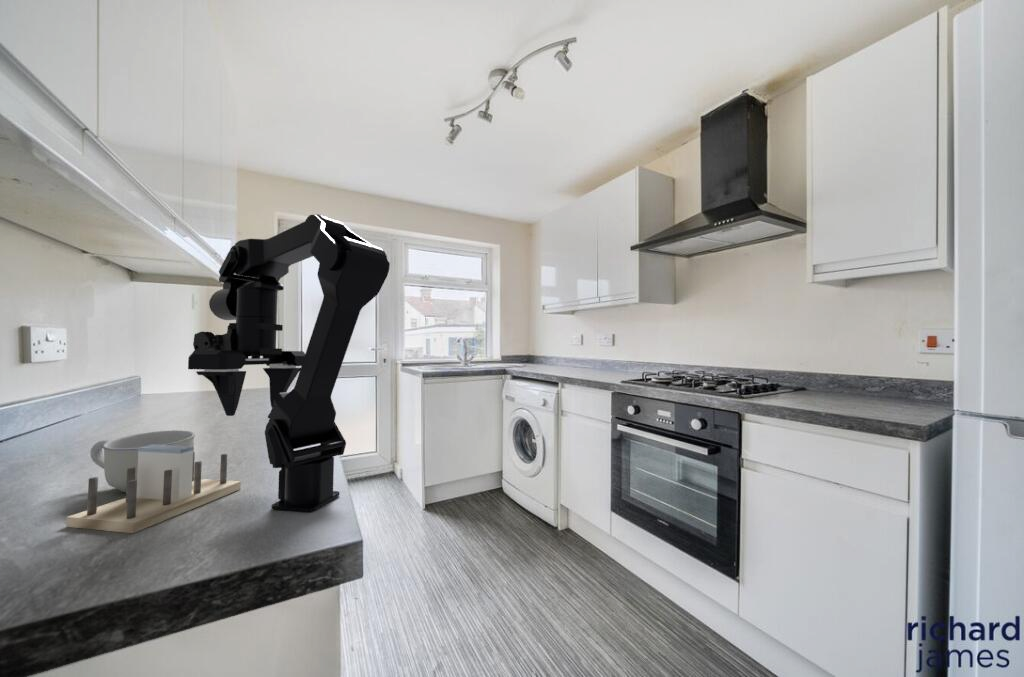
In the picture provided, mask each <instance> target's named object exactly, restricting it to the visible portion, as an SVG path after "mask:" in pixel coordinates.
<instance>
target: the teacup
mask: <svg viewBox="0 0 1024 677" xmlns="http://www.w3.org/2000/svg"><path fill="white" fill-rule="evenodd" d="M195 437H196V433H195V432H193V431H189V430H181V429H178V430H175V429H174V430H173V429H171V430H158V431H149V432H142V433H137V434H129V435H127V436H121V437H118V438H115V439H112V438H106V439H105V438H104V439H101V440H99V441H97V442H95V443H94V444H93V445H92V446H91V449H90V458H91V461H92V462H94V464H96V465H97V466H98V467H99V468H101V469H103V470H104V477H105V480H106V483H107V484H108V485H109V486H110V487H112V488H113V489H116V490H119V491H120V492H122V493H126V485H127V469H128V468H132V467H135V480H137V471H138V448H139V447H144V446H148V445H171V446H190V447H194V448H195ZM193 452H195V450H193Z"/></svg>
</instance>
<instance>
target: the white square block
mask: <svg viewBox="0 0 1024 677" xmlns="http://www.w3.org/2000/svg"><path fill="white" fill-rule="evenodd" d="M194 449H195V446H194V447H190V446H171V445H148V446H144V447H139V448H138V471H137V496H136V498H146V499H159V500H163V486H164V471H165V470H172V484H171V501H180V500H183V499H185V498H188V497H191V493H192V468H193V450H194ZM194 451H195V450H194Z"/></svg>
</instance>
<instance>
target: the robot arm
mask: <svg viewBox="0 0 1024 677" xmlns="http://www.w3.org/2000/svg"><path fill="white" fill-rule="evenodd" d="M312 257H314V258H315V259H316V261H317V262H318V263H319V265H318V270H317V279H318V282H319V285H320V288H321V290H322V294H323V298H322V302H321V304H320V307H319V311H318V314H317V317H316V320H315V323H314V327H313V330H312V331H311V332H312V333H311V336H310V338H309V342H308V345H307V348H306V351H305V352H304V351H303V350H302V351H301V350H299V351H298V350H290V351H289V350H286V351H285V350H283V348H277V332H279V331H281V332H282V331H283V326H284V325H283V324H278V323H277V322H278V319H277V318H278V293H279V291H283V290H285V288H284V285H283V284H282V283H281V282H279V281H280V280H281V278H283V277H285V276H286V275H287V274H289V272H290V269H289V267H290V266H292V265H295V264H297V263H299V262H301V261H304V260H306V259H309V258H312ZM390 264H391V263H390V262H389V261H388V256H387V253H386V252H385V250H384V249H382V248H381V247H379V246H376V245H373V243H372V244H371V243H370V242H369V241H367V240H366V239H364V238H362V237H361V236H360V235H358V234H356V233H355V232H354V231H352V230H351V229H350V228H349V227H348V226H347V225H345V224H344V223H343V222H341V221H339V220H336V219H332V218H330V217H327V216H324V215H321V214H310V215H308V216H307V218H305V221H303V222H301V223H298V224H296V225H294V226H292V227H290V228H287V229H286V230H284V231H282V232H280V233H277V234H275V235H274V236H271V237H269V238H263V239H262V238H245V239H240V240H238V241H237V242H235V243H234V245H232V246H231V248H230V249H229V251H228V253H227V254H226V256H225V258H224V261H223V262H222V264H221V266H220V268H219V270H218V274H219V275H220V276H219V277H218V282H219V283H222V288H221V289H219V290H217V291H215V292H214V293H213V294H212V295H211V297H210V299H209V302H208V303H209V304H208V305H209V309H210V311H211V312H212V314H213V315H214V316H216V317H217V318H219V319H220V320H223V321H235V322H229V324H228V325H227V330H226V333H223V334H214V333H213V332H212V331H199V332H197V333H194V337H193V342H192V343H193V344H192V346H193V349H194V351H192V352H191V354H190V355H189V356H188V362H187V364H188V365H187V369H188V370H200V371H195V373H196V374H197V375H198V376H203V377H204V378H205V379H207V380H208V381H209V382H210V383H211V384H212V386H213V387H214V390H215V391H216V393H217V396H218V398H219V401H220V403H221V405H222V408H223V411H224V412H225V415H226V416H227V417H232V416H235V414H236V411H237V409H238V406H239V401H240V398H241V394H242V392H243V387H244V382H245V379H246V375H247V371H246V370H242V369H243V367H244V366H248V365H249V366H251V365H255V366H256V365H266V366H267V367H262V369H263V370H262V371H264V373H265V374H267V376H268V378H269V401H270V406H271V410H270V412H269V414H268V415H267V418H268V422H267V423H266V425H265V430H264V437H265V444H266V451H267V457H268V460H269V464H270V465H272V468H273V469H280V470H278V484H277V485H278V488H277V490H278V491H277V493H278V494H277V496H278V497H277V498H278V501H276V502H274V503H271V509H273V510H283V511H284V510H285V511H287V510H288V511H299V512H314V511H316V510H317V509H319V508H321V507H322V506H324V505H326V504H327V503H329V502H330V501H333V500H334V499H336V498H337V497H339V496H340V494H341V493H340V491H338V490H337V491H336V490H334V474H335V472H334V469H335V468H334V467H335V457H337V456H342V455H344V454H345V449H346V445H347V441H346V439H345V438H344V436H343V434H342V431H341V430H340V429H339V427H338V426H337V423H336V421H335V420H336V416H337V412H336V409H335V406H334V403H333V399H332V393H333V391H334V389H335V385H336V382H337V380H338V377H339V373H340V371H341V369H342V365H343V362H344V359H345V355H346V353H347V351H348V347H349V345H350V342H351V339H352V336H353V333H354V330H355V327H356V325H357V322H358V319H359V315H360V313H361V311H362V309H363V308H364V307H365V306H366V305H367V304H368V303H370V302H372V300H373V299H374V298H376V297H377V295H379V293H380V291H381V289H382V287H383V286H384V283H385V282H386V279H387V277H388V275H389V273H390V266H391V265H390ZM249 357H250V358H249ZM261 357H262V358H261ZM201 370H202V371H201ZM296 378H297V380H296V381H295V379H296ZM293 381H295V385H294V387H293V389H292V390H290V391H289V392H288V390H289V388H290V387H291V385H292V384H293ZM300 448H302V449H300Z"/></svg>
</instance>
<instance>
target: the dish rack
mask: <svg viewBox="0 0 1024 677" xmlns="http://www.w3.org/2000/svg"><path fill="white" fill-rule="evenodd" d="M195 453H196V452H195V451H194V452H193V468H192V493H191V497H188V498H185V499H183V500H180V501H171V484H172V470H165V471H164V486H163V500H159V499H146V498H136V496H137V480H135V467H132V468H128V469H127V485H126V492H125V497H124V498H122V499H117V500H114V501H111V502H108V503H105V504H103V505H100V506H97V505H98V488H99V477H98V476H94V477H90V478H88V487H87V488H88V490H87V508H86V510H84V511H80V512H77V513H75V514H71V515H67V516H66V521H65V522H66V523H65V527H66V528H74V529H85V530H96V531H107V532H117V533H128V534H134V533H137V532H139V531H142V530H144V529H147V528H149V527H152V526H154V525H157V524H159V523H162V522H164V521H166V520H168V519H171V518H173V517H176V516H178V515H179V516H180V515H181V514H184V513H187V512H188V511H191V510H193V509H196V508H198V507H200V506H204V505H205V504H208V503H210V502H212V501H215V500H218V499H221V498H223V497H225V496H227V495H230V494H232V493H235V492H237V491H239V490H241V486H242V484H241V483H242V481H237V480H227V472H228V470H227V469H228V453H221V454H220V468H219V469H220V470H219V474H220V475H219V479H210V478H209V479H208V478H202V464H203V462H202V460H198V461H197V460H196V461H195V459H196V458H195V457H196V456H195V455H196V454H195Z"/></svg>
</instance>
